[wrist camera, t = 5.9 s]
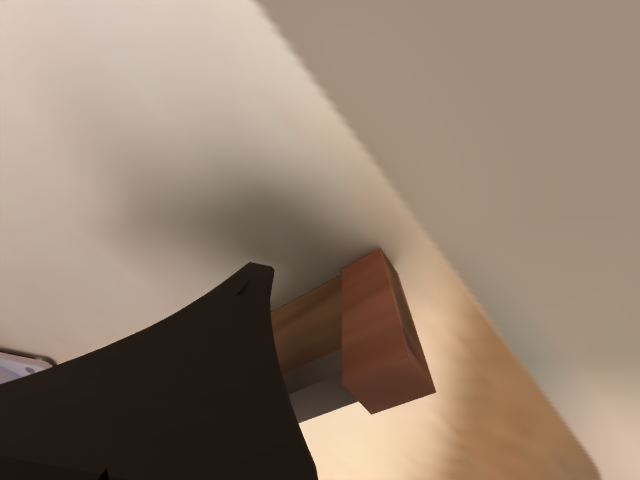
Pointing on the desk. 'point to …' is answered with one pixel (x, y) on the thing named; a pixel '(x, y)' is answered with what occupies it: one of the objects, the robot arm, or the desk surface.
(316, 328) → the brown flat bar
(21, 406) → the robot arm
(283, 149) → the desk surface
